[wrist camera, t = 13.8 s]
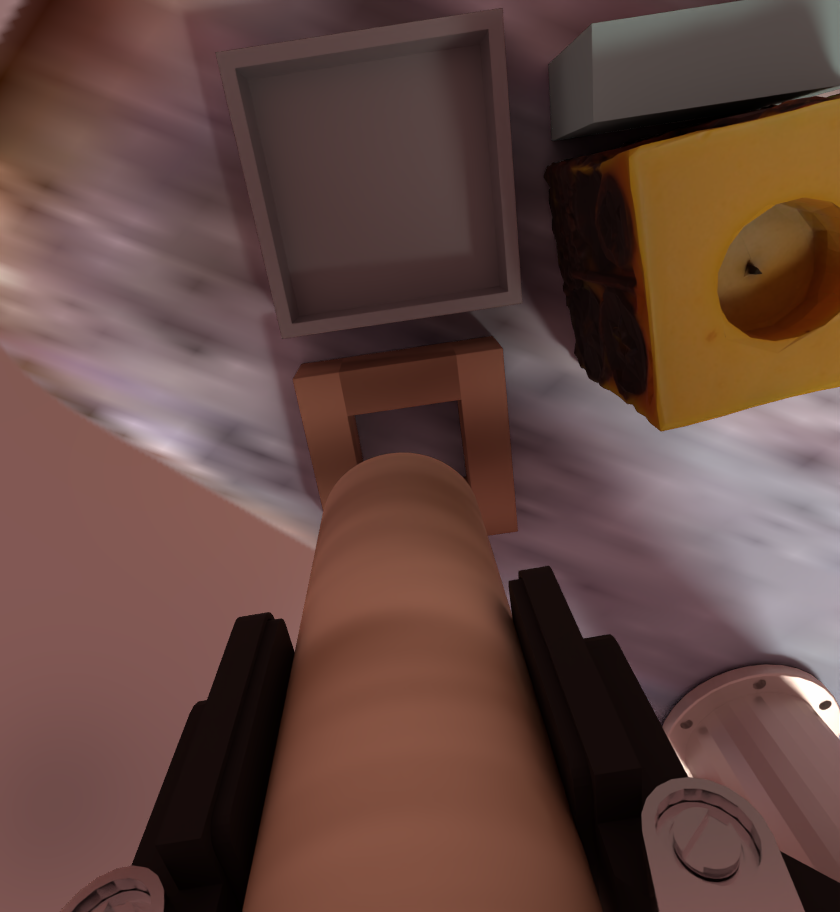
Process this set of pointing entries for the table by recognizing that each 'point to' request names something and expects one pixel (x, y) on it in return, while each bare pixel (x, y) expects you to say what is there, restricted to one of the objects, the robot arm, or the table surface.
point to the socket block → (407, 385)
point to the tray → (379, 171)
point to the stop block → (694, 65)
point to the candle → (707, 261)
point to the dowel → (412, 722)
